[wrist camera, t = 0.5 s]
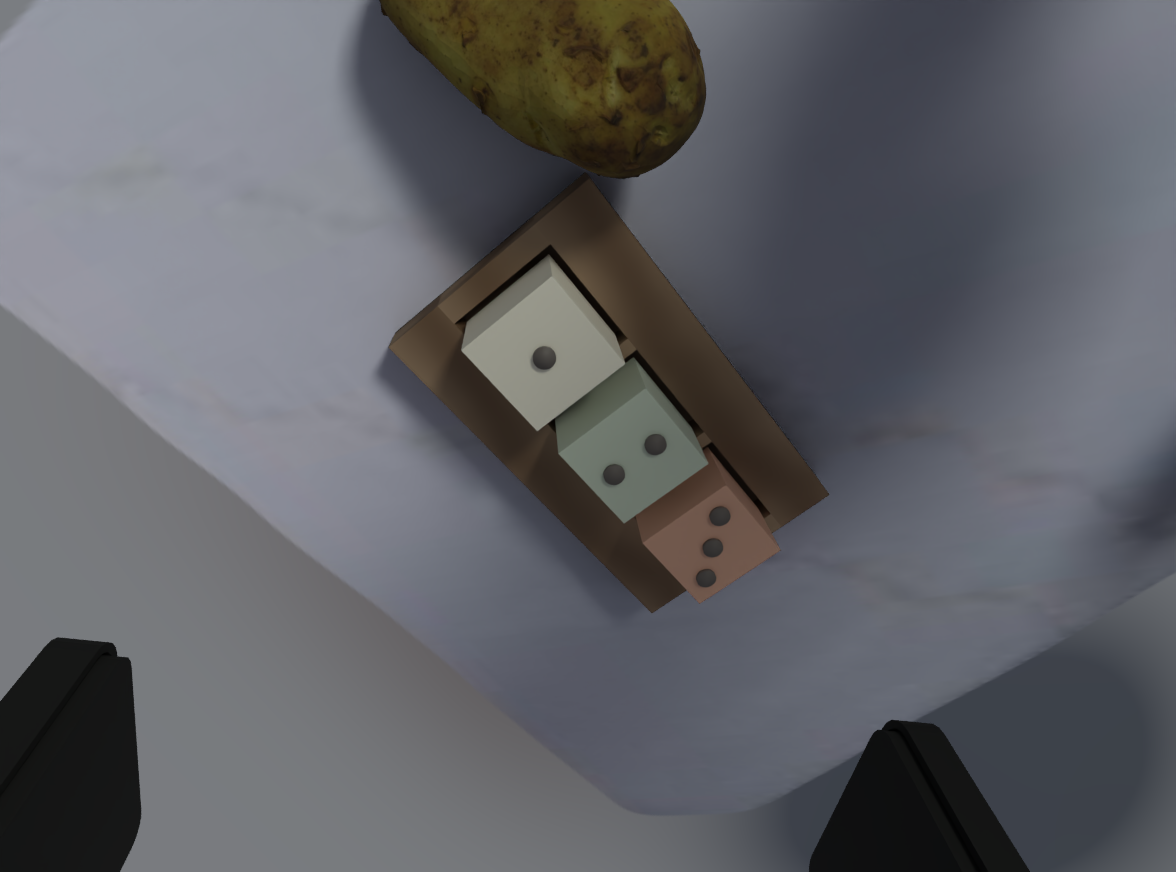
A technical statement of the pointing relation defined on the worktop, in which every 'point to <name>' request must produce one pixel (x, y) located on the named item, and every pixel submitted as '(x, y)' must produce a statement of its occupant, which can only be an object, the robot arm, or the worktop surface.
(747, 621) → the worktop surface
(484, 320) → the one-pip tile
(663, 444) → the two-pip tile
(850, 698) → the worktop surface
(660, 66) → the potato
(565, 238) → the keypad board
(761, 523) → the three-pip tile
